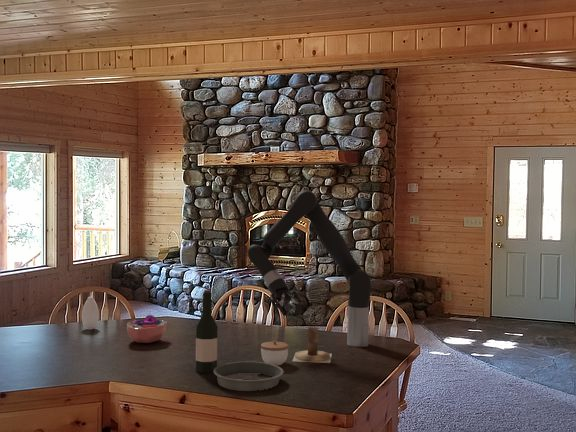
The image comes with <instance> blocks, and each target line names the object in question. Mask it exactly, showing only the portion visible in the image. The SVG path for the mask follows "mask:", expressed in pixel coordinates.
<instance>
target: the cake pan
mask: <svg viewBox="0 0 576 432" xmlns="http://www.w3.org/2000/svg"><path fill="white" fill-rule="evenodd" d="M238 373H260V374H266V375H270V376H273V377H270V376H269V377H268V378H260V379H258V378H257V379H258V380H242V379H233V378H228V377H225V376H228V375H233V374H238ZM213 374H214V375H215V376H216V379H217V383H218V385H219V386H220V387H222V388H225V389H227V390H231V391H240V392H258V391H257V390H259V391H265V390H269V388H270V389H272V387H273V388H274V386H275V387H276V386H278V384H279V382H280V378H281V376H283V375H284V369H283V368H282V367H280V366H279V365H273V364H269V363H265V362H264V361H263V362H262V361H250V360H249V361H234V362H233V361H232V362H227V363H222V364H220V365H217V367H216V368H215V369H214V372H213ZM266 375H265V376H266ZM264 389H265V390H264Z"/></svg>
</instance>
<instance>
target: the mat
mask: <svg viewBox="0 0 576 432" xmlns="http://www.w3.org/2000/svg"><path fill="white" fill-rule="evenodd" d="M329 354H330V359H329V360H326V361H321V362H317V363H320V364H321V363H322V364H323V363H324V364H331V362H332V361H331V360H332V354H333V353H329ZM291 362H296V363H297V362H300V363H309V362H308V361H302V360H298V359H296V358H295V354H294V356H293V358H292V361H291Z"/></svg>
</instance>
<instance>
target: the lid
mask: <svg viewBox="0 0 576 432" xmlns="http://www.w3.org/2000/svg"><path fill="white" fill-rule="evenodd" d="M307 331H308V332H307V350H299V351H295V353H294V355H295V358H296V359H298V360H302V361H308V362H307V363H318V362H321V361H326V360H329V359H330V354H331V353H328V352H326V351H322V350H318V348H319V327H317V326H309V327H307Z"/></svg>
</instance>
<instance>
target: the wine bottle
mask: <svg viewBox="0 0 576 432" xmlns="http://www.w3.org/2000/svg"><path fill="white" fill-rule="evenodd" d="M212 293H213V292H212V291H211V289H204V290H203V292H202V315H201V317H200V318H199V320H198V322H196V323H197V324H196V325H195V373H199V372H200V373H199V374H212V372H213V373H214V369H215V368H216V367H218V330H219V329H218V324H217V323H216V321H215V319H214V317H213V314H212V301H213V298H212Z"/></svg>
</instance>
